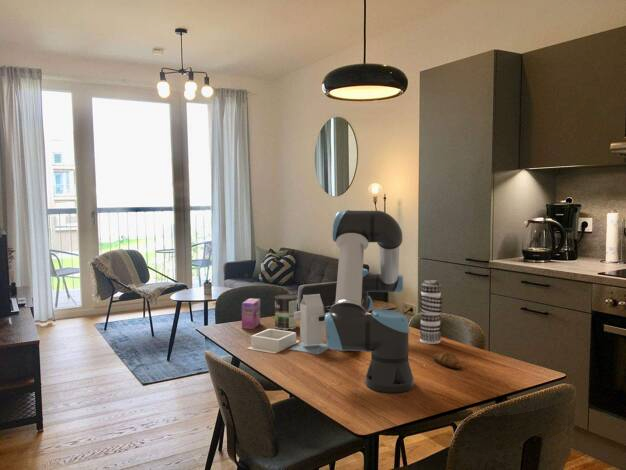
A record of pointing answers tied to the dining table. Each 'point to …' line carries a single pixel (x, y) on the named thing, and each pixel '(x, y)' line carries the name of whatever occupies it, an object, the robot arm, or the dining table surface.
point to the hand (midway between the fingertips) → (303, 317)
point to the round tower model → (430, 312)
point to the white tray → (272, 340)
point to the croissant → (447, 360)
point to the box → (250, 313)
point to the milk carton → (308, 331)
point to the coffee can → (285, 311)
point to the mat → (310, 348)
